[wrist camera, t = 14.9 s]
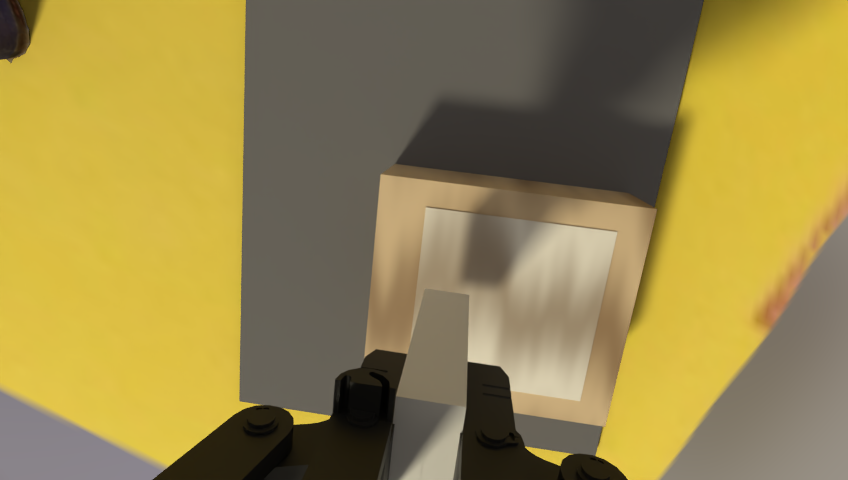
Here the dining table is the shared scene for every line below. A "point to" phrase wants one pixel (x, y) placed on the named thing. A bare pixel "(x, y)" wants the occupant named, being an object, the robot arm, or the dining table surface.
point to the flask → (12, 30)
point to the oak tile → (515, 278)
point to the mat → (426, 148)
